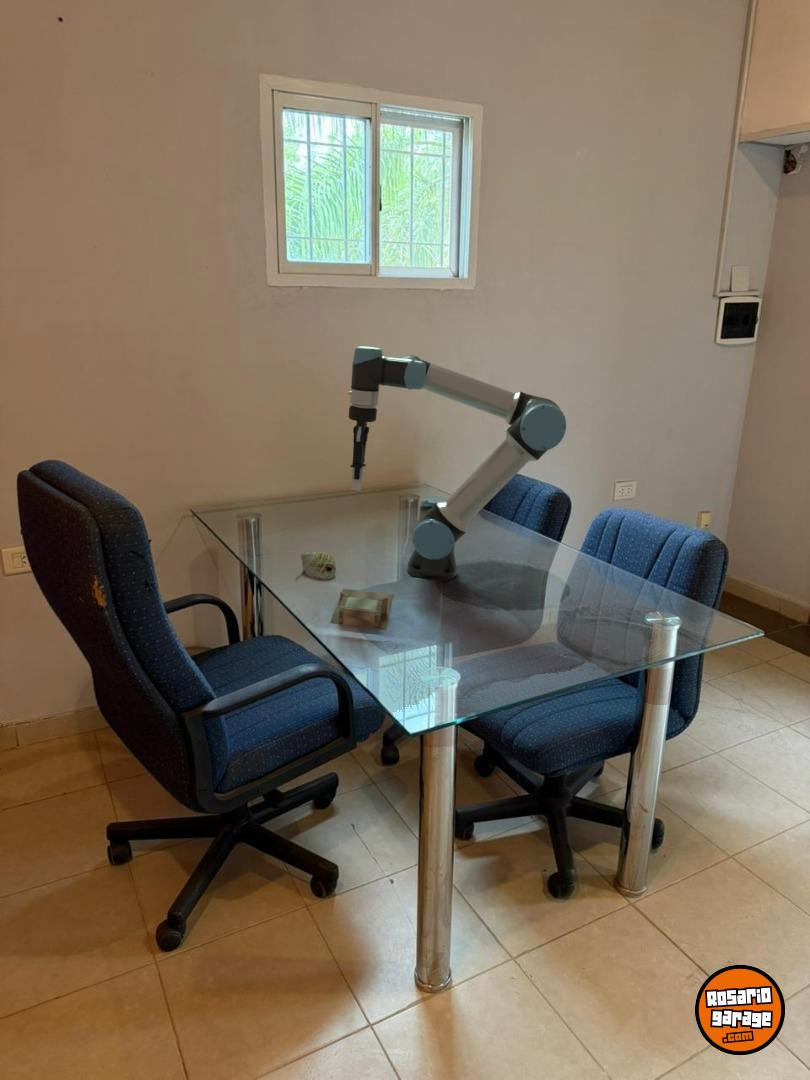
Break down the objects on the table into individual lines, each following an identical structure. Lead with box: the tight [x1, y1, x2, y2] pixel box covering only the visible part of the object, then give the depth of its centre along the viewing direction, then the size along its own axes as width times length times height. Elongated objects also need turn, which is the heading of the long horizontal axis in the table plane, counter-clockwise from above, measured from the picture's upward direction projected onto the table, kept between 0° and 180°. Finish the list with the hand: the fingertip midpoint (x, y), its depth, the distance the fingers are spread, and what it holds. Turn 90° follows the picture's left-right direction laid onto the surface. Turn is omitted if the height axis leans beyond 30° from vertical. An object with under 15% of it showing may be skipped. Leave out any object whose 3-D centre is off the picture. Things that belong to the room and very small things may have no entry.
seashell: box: [300, 551, 337, 581], centre depth 215 cm, size 10×10×10 cm
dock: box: [329, 588, 394, 631], centre depth 194 cm, size 14×23×6 cm, turn 177°
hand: (356, 489), depth 210 cm, fingers closed
